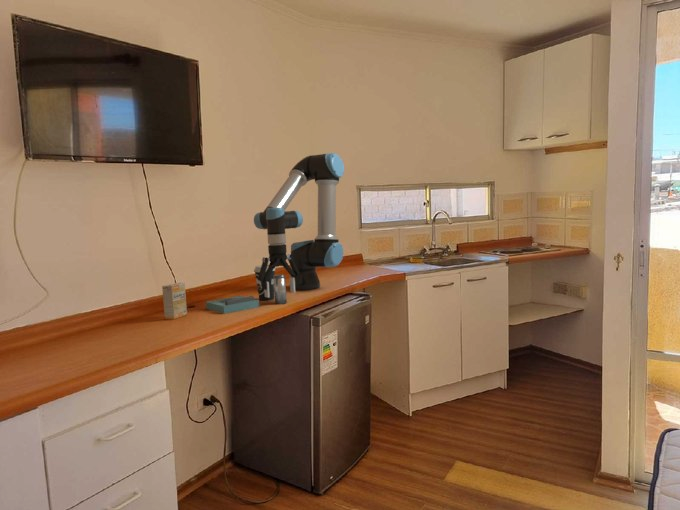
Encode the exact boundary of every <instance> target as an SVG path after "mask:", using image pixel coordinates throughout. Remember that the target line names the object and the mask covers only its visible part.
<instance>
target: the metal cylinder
mask: <svg viewBox="0 0 680 510" xmlns="http://www.w3.org/2000/svg"><path fill="white" fill-rule="evenodd" d="M273 277H274V301H275V302H274V303H275V305H286V304H287V288H286V274H284V273H283V274H282V273H280V274H275V275H274V276H273Z"/></svg>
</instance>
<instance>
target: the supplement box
mask: <svg viewBox="0 0 680 510" xmlns="http://www.w3.org/2000/svg"><path fill="white" fill-rule="evenodd" d="M161 289H162V301H163V311H164V312H163V313H164V320H176V319H180V318H182V317H185V316H187V315H188V310H187V309H188V308H187V297H186V284H185V282H175V283H170V284H167V285H166V284H165V285H162V286H161Z"/></svg>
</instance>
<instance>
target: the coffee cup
mask: <svg viewBox="0 0 680 510" xmlns="http://www.w3.org/2000/svg"><path fill="white" fill-rule="evenodd" d="M261 266H262V264H261V265H256V266H255V267H254V269H253V272H254V274H255V281H256V286H257V287H256V288H257V293H258V300H259V302H260V301H261V302H269V301H273V300H275V291H274V277H273V276H274V275H276V274H275V271H276V267H275V268H274V269H273V271H272V273H271V275H270V276H269V278H268V280H267V282H269V293H270V297H269V298H268V297H265V293H264V290H263V287H262V281H258V276H259V273H260V269H261ZM268 267H269V264H268V266H267V269H268ZM267 269H266V271H267Z"/></svg>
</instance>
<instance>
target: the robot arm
mask: <svg viewBox="0 0 680 510" xmlns="http://www.w3.org/2000/svg"><path fill="white" fill-rule="evenodd" d="M344 173H345V165H344V162H343V160H342V158H341V156H340V155H338V154H337V153H335V152H333V153H332V152H331V153H329V152H327V153H322V154H312V155H307V156H305V157H303V158H302V159H301V160H298V162H297V163H296V164H295V165H294V166H293V167H292V168H291V170H290V171H289V172H288V177H287V179H286V180H285V181H284V183H283V184H282V186H281V187H280V189H279V190H278V191H277V192H276V194H275V195H274V197H273V198H272V199H271V201H270V202H269V203H268V205H267V206H266V208H265V209H264V210H263V211H260V212H257V213H255V215H254V217H253V225H254V226H255V227H256V228H257V229H259V230H267V231H266V232H267V233H266V234H267V244H268V247H267V249H268V254H269V255H268V257H262V260H261V261H262V263H261V265H262V266H261V269H260V273H259V276H258V281H262V287H263V290H264V293H265V297H268V298H269V297H270V293H269V282H267V280H268V278H269V276H270V275H271V273H272V271H273V269H274V268H275V269H276V268H278V267H283V268H284V269H285V271H286V272H287V273H288V275H289V276H290V277H289V290H290V293H292V294H295V293H296V291H303V290H304V291H305V290H306V291H307V290H312V289H313V290H314V289H318V288H320V287H321V281H320V279H319V277H318V273H317V269H316V268H335V267H336V268H337V267H338V266H339V265H340V263H341V262H342V260H343V259H344V247H343V245H342V243H340V242H339V239H340V238H338V237H337V235H336V219H337V217H336V214H337V213H336V210H337V209H336V207H337V201H336V199H337V198H336V197H337V195H336V194H337V185H338V184H339V183H340V179H341V178H342V177H343V175H344ZM312 180H314V183H315V184H316V185H317V235H316V236H315V238H314V239H310V240H302V241H298V242H293V243H292V244H291V245H290V254H287V244H286V243H287V239H286V230H287V229H289V230H290V229H297V228H299V227H301V226H302V225H303V222H304V217H303V214H302V213H301V212H300V211H299V210H287V211H286V209H287V208H288V207H289V205H290V204H291V202H292V201H293V199H294V198H295V197H296V196H297V194H298V192H300V189H301V188H302V187H304V186H306V184H307V183H308V182H310V181H312ZM287 261H288V262H287ZM268 265H269V267H268V269H267V266H268ZM266 269H267V271H266Z"/></svg>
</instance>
